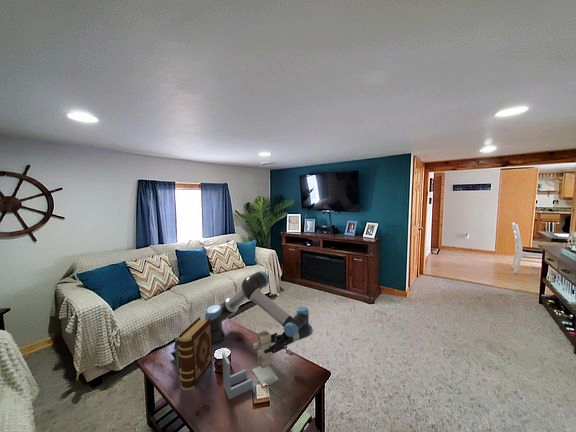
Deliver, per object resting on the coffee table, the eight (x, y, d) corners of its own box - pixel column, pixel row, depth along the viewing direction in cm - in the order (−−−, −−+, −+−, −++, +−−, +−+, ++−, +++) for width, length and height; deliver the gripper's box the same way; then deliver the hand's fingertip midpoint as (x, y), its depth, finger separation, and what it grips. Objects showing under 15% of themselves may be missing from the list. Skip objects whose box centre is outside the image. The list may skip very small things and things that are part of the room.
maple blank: (257, 362, 138) (257, 333, 137) (266, 358, 141) (266, 330, 140) (262, 368, 133) (261, 338, 131) (271, 364, 136) (270, 335, 135)
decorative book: (191, 391, 127) (188, 339, 124) (178, 389, 129) (175, 338, 126) (212, 362, 149) (210, 317, 146) (201, 360, 151) (199, 316, 148)
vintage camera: (185, 352, 160) (182, 324, 158) (194, 362, 149) (192, 332, 147) (170, 359, 153) (167, 330, 151) (178, 371, 142) (176, 340, 140)
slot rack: (223, 387, 130) (222, 353, 128) (246, 377, 137) (245, 344, 135) (229, 399, 122) (227, 363, 120) (252, 388, 129) (251, 354, 127)
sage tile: (252, 370, 142) (252, 369, 142) (266, 364, 147) (266, 363, 147) (262, 387, 129) (262, 386, 129) (278, 380, 134) (278, 378, 134)
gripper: (298, 350, 138) (263, 366, 126) (282, 334, 154) (249, 346, 142) (298, 338, 137) (263, 353, 125) (282, 323, 153) (249, 335, 141)
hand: (256, 349), depth 134 cm, fingers closed on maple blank, 6 cm apart
